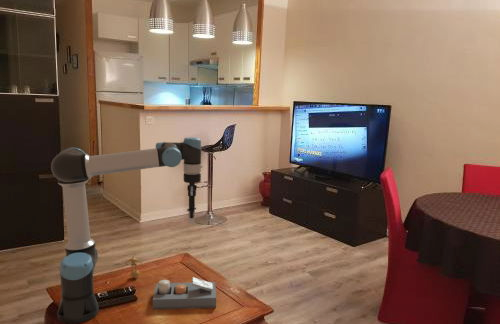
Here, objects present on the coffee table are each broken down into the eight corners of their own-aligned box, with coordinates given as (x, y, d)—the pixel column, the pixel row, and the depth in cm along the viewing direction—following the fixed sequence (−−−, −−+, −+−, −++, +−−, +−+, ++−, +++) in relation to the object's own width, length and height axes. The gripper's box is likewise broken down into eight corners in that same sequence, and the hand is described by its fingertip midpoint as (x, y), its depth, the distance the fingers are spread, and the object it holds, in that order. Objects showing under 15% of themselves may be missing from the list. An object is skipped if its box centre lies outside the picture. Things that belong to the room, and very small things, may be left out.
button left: (158, 294, 168) (158, 285, 167) (159, 289, 172) (159, 279, 171) (169, 294, 168) (169, 284, 167) (170, 289, 173) (170, 279, 172)
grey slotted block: (152, 309, 164) (152, 296, 163) (156, 292, 177) (156, 280, 176) (216, 307, 167) (216, 295, 166) (214, 291, 181) (215, 279, 180)
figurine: (144, 276, 192) (144, 252, 190) (141, 282, 187) (141, 258, 184) (127, 275, 192) (126, 252, 190) (124, 281, 186) (123, 257, 184)
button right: (174, 299, 169) (175, 289, 168) (175, 293, 173) (175, 284, 173) (185, 299, 170) (186, 289, 169) (186, 293, 174) (186, 284, 173)
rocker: (191, 287, 168) (192, 283, 168) (191, 280, 174) (193, 277, 174) (211, 293, 170) (212, 289, 170) (211, 286, 176) (212, 282, 175)
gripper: (200, 176, 168) (199, 229, 173) (200, 170, 181) (200, 219, 185) (182, 175, 168) (182, 229, 172) (184, 169, 180) (183, 219, 184)
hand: (191, 224), depth 179 cm, fingers closed
